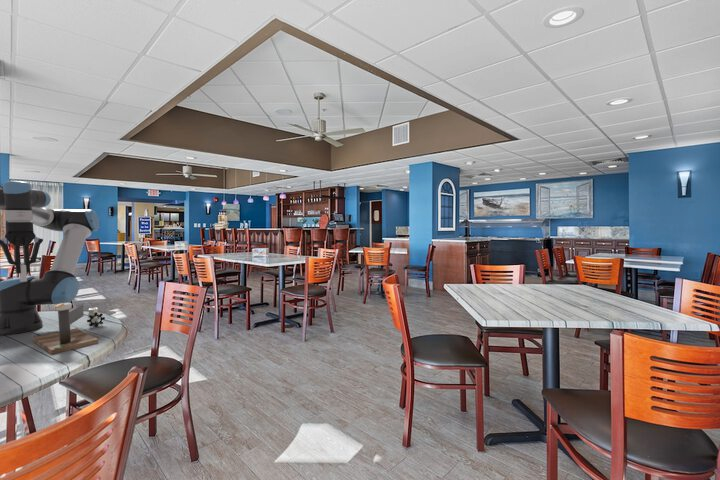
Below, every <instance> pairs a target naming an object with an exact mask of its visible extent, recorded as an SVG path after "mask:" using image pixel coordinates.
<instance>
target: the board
mask: <svg viewBox="0 0 720 480" xmlns="http://www.w3.org/2000/svg"><path fill="white" fill-rule="evenodd" d="M70 333H71V341H70V342H68V343H60V336H59V331H56V332H54V333H52V332H51V333H48V334H43V335H38V336H34V337H32V339H33V342H34V343H35V344H37V345H38V346H39V347H41V348H42V349H44V350H45V351H46V352H47V353H49V354H51V355H55V354H58V353H63V352H67V351H71V350H75V349H79V348H83V347H86V346H87V347H88V346H91V345H95V344H98V343H99V338H97V337H96V336H94V335H91V334H89V333H88V332H86V331H83V330H81V329H80V328H78V327H77V328H72V329H71V328H70Z"/></svg>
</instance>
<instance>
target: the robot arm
mask: <svg viewBox="0 0 720 480" xmlns="http://www.w3.org/2000/svg"><path fill="white" fill-rule="evenodd" d="M51 199H52V198H51V196H50V194H49V193H48V192H46V190H41V189H39V188H38V189H35V188H32V187H31V183H30V182H26V181H15V180H13V181H11V180H10V181H5V182H3V188H0V210H1V211H3V212H4V213H5V215H4V216H5V217H4V218H5V221H7V222H6V223H5V229H6V233H5V235H4V237H3V238H1V239H0V247H1V248H2V251H3V253H4V256H5V258H6V260H7V263H8V264H9V265H14V266H15V273H16V274H19V277H14V278H8V279H4V280H1V281H0V336H4V335H5V336H6V335H16V334H21V333H22V334H23V333H27V332H30V331H34V330H35V331H36V330H37V329H41V328H42V327H43V326H44V325H43V323H44V322H43V320H42V318H41V316H40V314H39V312H38V310H37V306H46V305H57V304H61V303H71V302H72V301H73V300H74V299H76V298H77V295H78V293H79V290H80V289H79V287H80V282H79V280H78V279H77V276H76V275H75V270H76V268H77V264H78V262H79V259H80V257H81V254H82V251H83V247H84V245H85V242H86V239H87V238H90V237H91V235H92V233H93V232H98V231H99V230H100V219H99V215H98V213H97V212H96V211H95V210H94V209H89V208H88V209H87V208H84V209H79V208H78V209H74V208H73V209H72V208H70V209H69V208H65V209H64V208H60V209H59V208H48V207H47V206H49V205H50V203H51ZM34 225H35V226H37V227H40V228H44V229H47V230H50V231H54V232H63V233H64V235H63V238H62V240H61V242H60V245H59V248H58V250H57V252H56V255H55V257H54V260H53V262H52V264H51V267H50V270H46V271H45V272H44V274H43V276H42V278H35V276H34V275H27V274H28V273H30V271H31V268H30V267H31V266H30V265H31V264H34V263H36V262H37V258H38V253H39V249H40V246H41V245H42V242H43V241H44V239H43V238H41V237H38V236H36V234H35V232H34V231H35V229H34ZM33 241H34V245H33V247H32V248H33V249H32V252H31V256H30V244H31V243H32V242H33ZM8 242H9V243H10V244H11V245H12V246H13V255H14V259H13V256H12V254H11V252H10V249H9V246H8V245H7V244H8ZM21 246H22V251H23V252H22V253H23V264H21V263H22V261H21Z"/></svg>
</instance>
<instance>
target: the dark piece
mask: <svg viewBox="0 0 720 480" xmlns="http://www.w3.org/2000/svg"><path fill="white" fill-rule="evenodd" d="M72 304H73V303H71V302H68V303H61V304H54V311H55V312H57V316H58V317H57V318H58V332H59V336H60V343H68V342H70V341H71V333H70V330H71V325H72V324H73V323H75V322H76V321H78V320H80V319H82V318H83V317H84V304H82V303H81V304H78V305H77V304H76V305H75V306H74V307H72Z"/></svg>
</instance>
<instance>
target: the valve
mask: <svg viewBox="0 0 720 480" xmlns="http://www.w3.org/2000/svg"><path fill="white" fill-rule="evenodd" d="M99 318H100V320H99ZM105 320H106V317H105V316H103V313H102V312H101V313H99V309H98V307H90V308H88V314H87V320H86V323H89V325H88V326H90V327H92V326H93V325H94V327H96V328H98V327H99V325H103V324H104V322H103V321H105ZM97 326H98V327H97Z"/></svg>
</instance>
